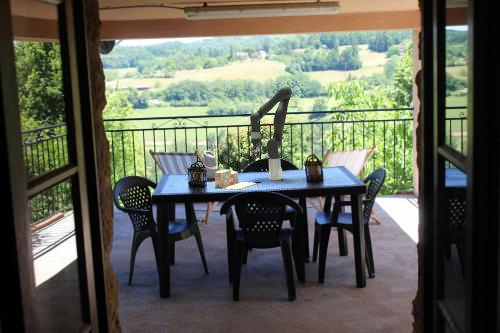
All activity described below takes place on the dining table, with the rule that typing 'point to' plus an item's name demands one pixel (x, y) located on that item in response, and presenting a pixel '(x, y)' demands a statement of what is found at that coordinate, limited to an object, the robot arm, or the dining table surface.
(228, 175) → the stack of blocks
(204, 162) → the juicer
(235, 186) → the oak board
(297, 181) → the dining table surface
